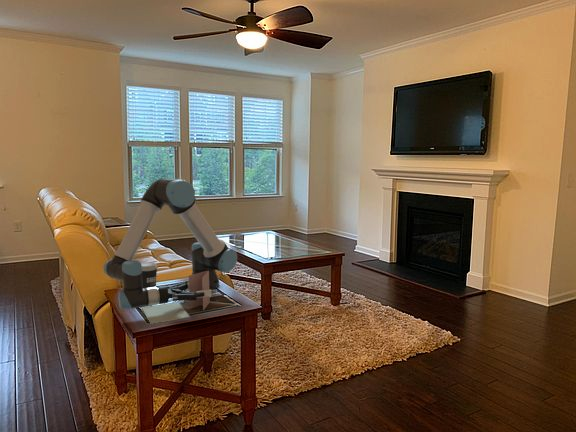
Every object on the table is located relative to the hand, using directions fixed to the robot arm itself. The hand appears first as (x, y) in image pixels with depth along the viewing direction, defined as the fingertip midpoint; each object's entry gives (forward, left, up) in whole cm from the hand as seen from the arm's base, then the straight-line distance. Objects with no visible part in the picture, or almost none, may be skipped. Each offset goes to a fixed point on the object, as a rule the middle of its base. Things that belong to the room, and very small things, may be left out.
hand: (206, 288), depth 198 cm
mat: (0, -18, -8) cm, 20 cm away
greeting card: (0, -1, -9) cm, 9 cm away
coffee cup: (-29, -20, -9) cm, 37 cm away
